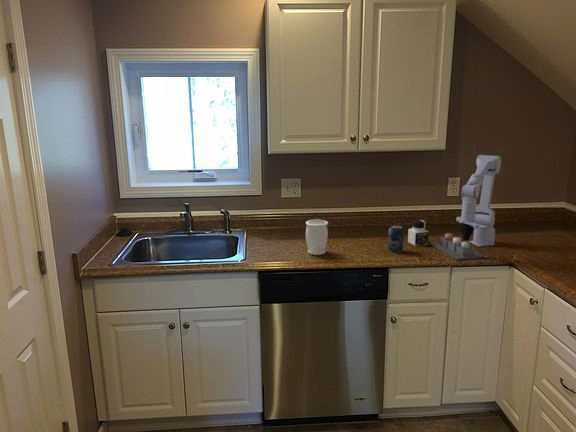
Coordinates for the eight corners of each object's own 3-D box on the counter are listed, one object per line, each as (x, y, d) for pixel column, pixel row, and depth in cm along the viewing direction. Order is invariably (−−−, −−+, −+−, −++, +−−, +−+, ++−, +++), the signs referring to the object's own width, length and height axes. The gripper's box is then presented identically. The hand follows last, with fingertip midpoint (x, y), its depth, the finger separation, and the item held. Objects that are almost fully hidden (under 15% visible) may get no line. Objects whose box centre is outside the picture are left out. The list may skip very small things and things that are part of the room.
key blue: (466, 247, 208) (466, 241, 208) (471, 249, 205) (471, 243, 204) (459, 248, 208) (459, 241, 207) (463, 250, 204) (464, 244, 204)
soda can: (387, 252, 212) (389, 228, 209) (387, 248, 219) (388, 224, 216) (403, 253, 211) (404, 229, 208) (401, 249, 217) (403, 225, 214)
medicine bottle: (415, 246, 221) (416, 222, 218) (407, 242, 228) (408, 219, 225) (427, 244, 223) (429, 221, 220) (420, 240, 230) (421, 218, 227)
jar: (305, 248, 219) (305, 219, 215) (326, 248, 219) (327, 219, 215) (305, 256, 209) (305, 225, 205) (328, 256, 209) (328, 225, 205)
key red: (449, 238, 222) (450, 233, 221) (453, 241, 218) (454, 235, 218) (443, 239, 221) (443, 233, 220) (447, 241, 218) (447, 235, 217)
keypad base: (454, 242, 227) (455, 234, 226) (484, 257, 204) (485, 249, 203) (429, 244, 224) (430, 236, 223) (457, 260, 201) (457, 251, 200)
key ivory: (457, 243, 215) (458, 237, 214) (462, 245, 212) (462, 239, 211) (450, 243, 214) (451, 237, 214) (455, 245, 211) (455, 239, 210)
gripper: (451, 208, 208) (449, 236, 211) (470, 215, 194) (467, 245, 198) (465, 207, 209) (462, 235, 213) (484, 214, 196) (481, 244, 199)
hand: (465, 240), depth 205 cm, fingers closed
